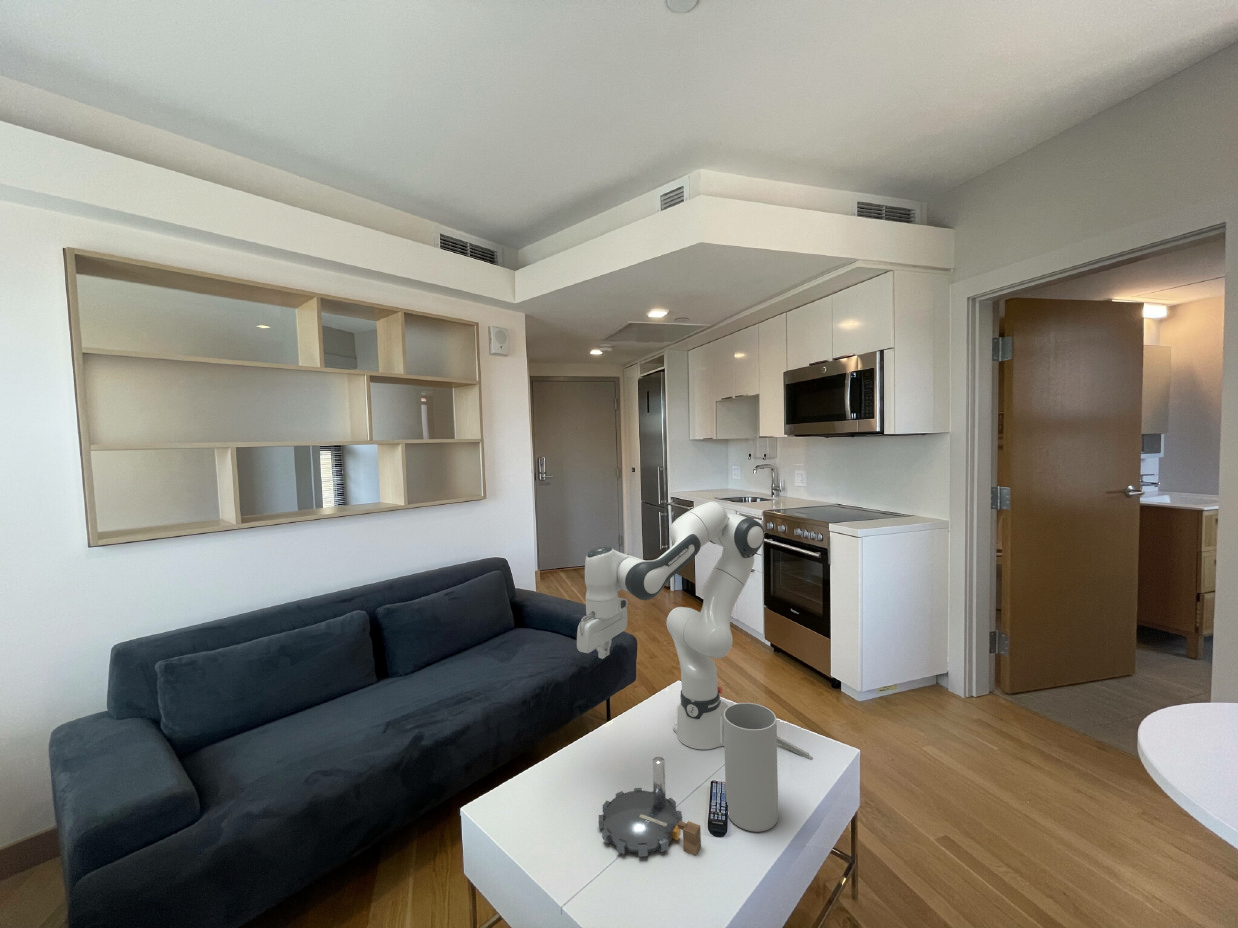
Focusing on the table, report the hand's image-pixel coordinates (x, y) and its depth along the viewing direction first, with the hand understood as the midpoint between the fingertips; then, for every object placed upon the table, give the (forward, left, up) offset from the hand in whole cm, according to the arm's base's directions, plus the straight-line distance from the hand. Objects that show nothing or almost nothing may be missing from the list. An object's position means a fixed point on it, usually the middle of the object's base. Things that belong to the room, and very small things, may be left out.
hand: (604, 656), depth 143 cm
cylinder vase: (-5, +39, -34) cm, 52 cm away
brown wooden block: (+12, +30, -34) cm, 47 cm away
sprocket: (+12, +17, -34) cm, 40 cm away
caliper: (-36, +37, -35) cm, 62 cm away
